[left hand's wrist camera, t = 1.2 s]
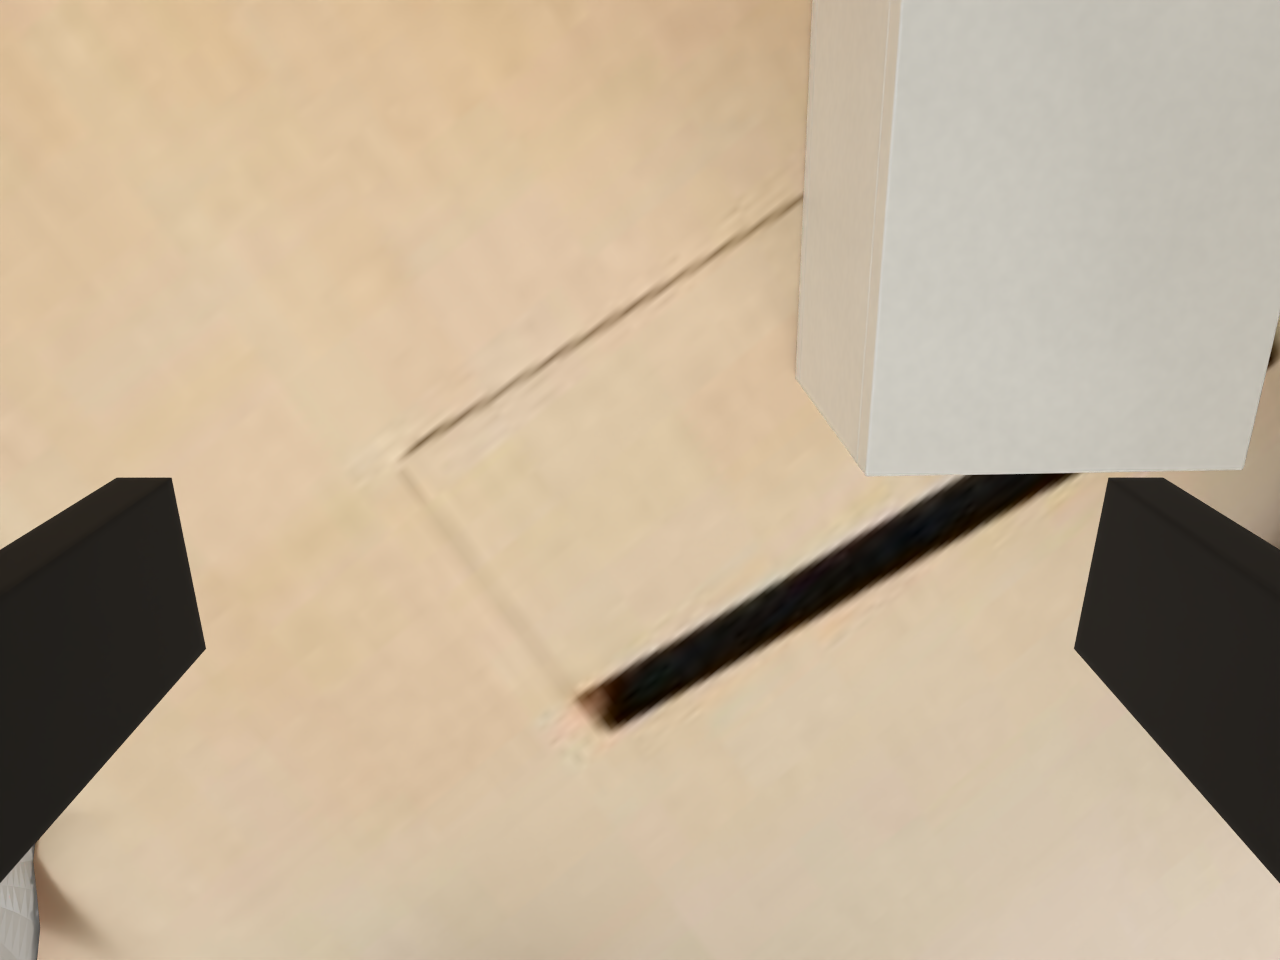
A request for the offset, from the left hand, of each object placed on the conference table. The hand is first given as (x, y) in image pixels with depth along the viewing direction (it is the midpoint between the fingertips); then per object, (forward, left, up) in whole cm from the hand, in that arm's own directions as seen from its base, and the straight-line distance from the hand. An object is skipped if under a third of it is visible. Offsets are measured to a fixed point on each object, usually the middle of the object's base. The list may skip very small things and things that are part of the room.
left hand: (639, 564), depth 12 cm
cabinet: (+6, -11, -22) cm, 26 cm away
